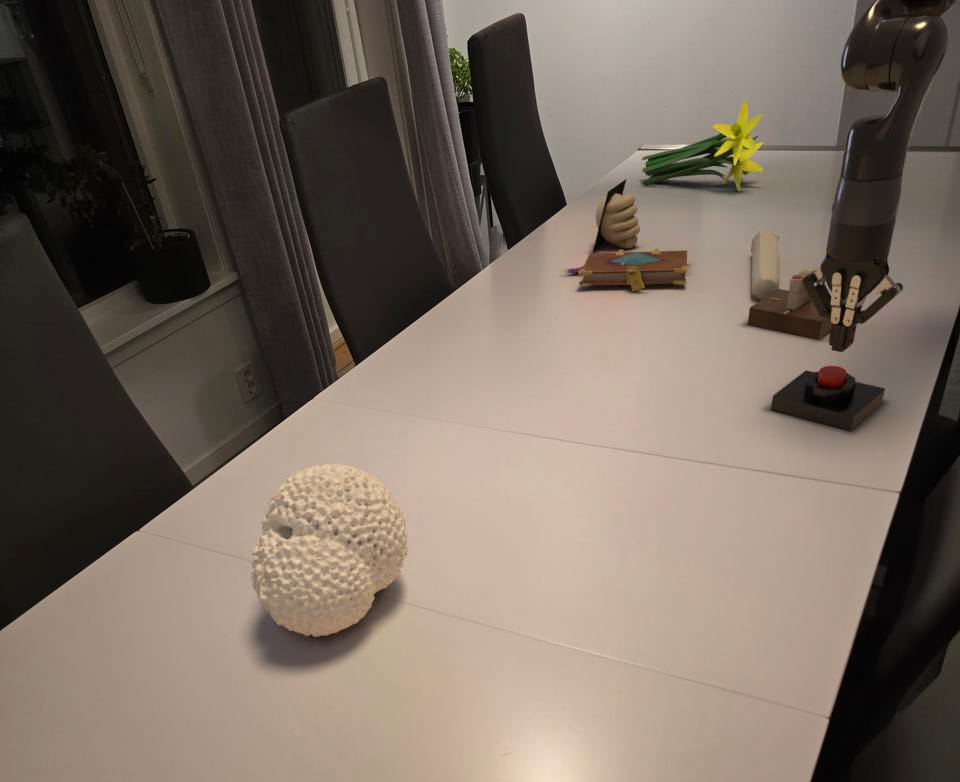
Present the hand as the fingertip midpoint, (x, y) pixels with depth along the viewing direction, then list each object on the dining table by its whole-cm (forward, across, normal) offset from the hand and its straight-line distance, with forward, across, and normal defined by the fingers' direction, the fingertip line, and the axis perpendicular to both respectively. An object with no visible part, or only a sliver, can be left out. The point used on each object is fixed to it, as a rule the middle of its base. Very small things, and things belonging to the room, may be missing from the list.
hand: (839, 349), depth 115 cm
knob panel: (+9, +18, -26) cm, 33 cm away
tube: (+9, +33, -42) cm, 54 cm away
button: (+5, 0, 0) cm, 5 cm away
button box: (+8, 0, 0) cm, 9 cm away
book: (+9, +57, -30) cm, 65 cm away
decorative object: (+9, +70, -46) cm, 84 cm away
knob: (+6, +18, -26) cm, 32 cm away
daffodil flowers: (+9, +79, -92) cm, 122 cm away
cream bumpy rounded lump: (+8, +24, +72) cm, 76 cm away
